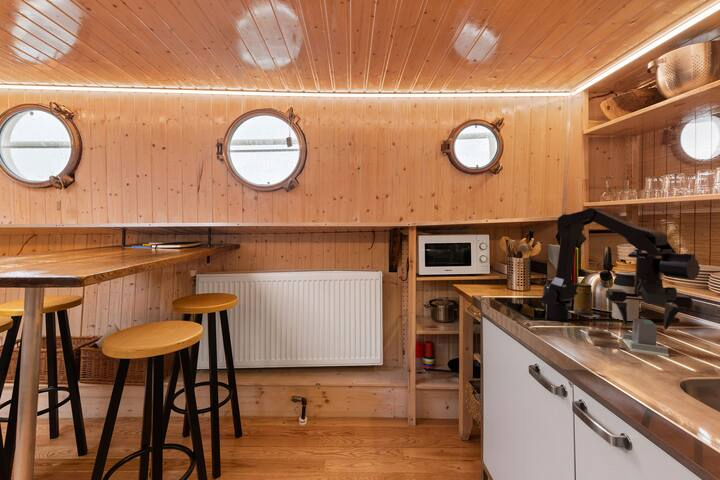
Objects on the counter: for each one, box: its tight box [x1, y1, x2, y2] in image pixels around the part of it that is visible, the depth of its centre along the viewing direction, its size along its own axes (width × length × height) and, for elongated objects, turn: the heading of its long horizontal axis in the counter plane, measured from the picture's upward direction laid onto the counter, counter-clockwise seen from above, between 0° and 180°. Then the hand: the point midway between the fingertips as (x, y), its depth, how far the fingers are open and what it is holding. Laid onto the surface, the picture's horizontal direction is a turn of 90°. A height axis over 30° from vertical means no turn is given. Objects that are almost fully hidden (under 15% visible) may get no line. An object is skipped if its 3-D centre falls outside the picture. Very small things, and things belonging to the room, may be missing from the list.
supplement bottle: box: [541, 278, 554, 308], centre depth 145 cm, size 7×7×12 cm
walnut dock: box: [586, 328, 620, 350], centre depth 103 cm, size 6×12×2 cm, turn 154°
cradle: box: [620, 332, 670, 357], centre depth 98 cm, size 8×12×2 cm, turn 154°
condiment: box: [568, 282, 600, 318], centre depth 134 cm, size 7×8×12 cm
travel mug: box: [611, 270, 641, 321], centre depth 127 cm, size 8×8×18 cm
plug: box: [631, 318, 658, 346], centre depth 98 cm, size 4×6×8 cm, turn 154°
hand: (645, 326), depth 98 cm, fingers open, 9 cm apart
